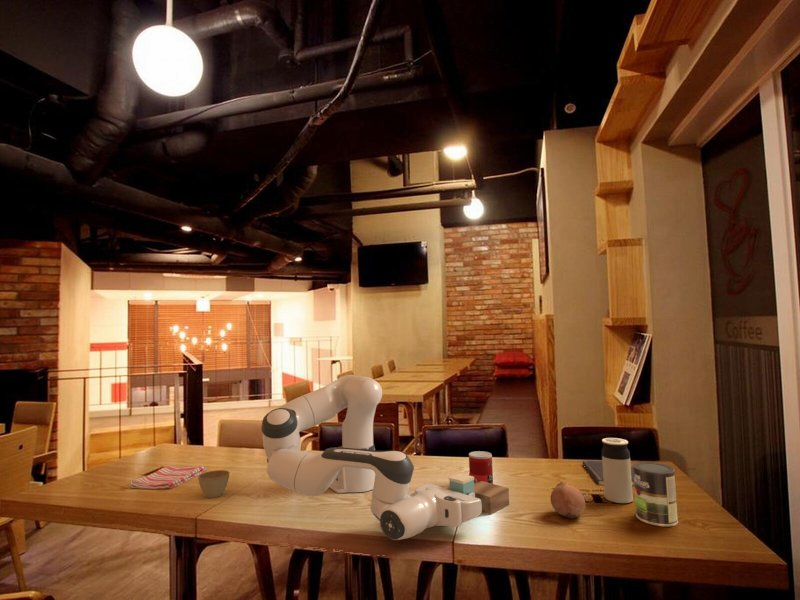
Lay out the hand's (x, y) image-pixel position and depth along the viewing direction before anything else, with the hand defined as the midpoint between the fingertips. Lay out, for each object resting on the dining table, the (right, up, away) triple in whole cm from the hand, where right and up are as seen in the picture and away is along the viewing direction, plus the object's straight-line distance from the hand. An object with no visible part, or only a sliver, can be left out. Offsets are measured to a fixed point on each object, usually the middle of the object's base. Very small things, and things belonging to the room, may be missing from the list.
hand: (464, 492), depth 129 cm
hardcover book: (+59, -8, +32) cm, 68 cm away
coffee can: (+53, -5, -6) cm, 54 cm away
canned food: (+10, -9, +24) cm, 27 cm away
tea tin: (0, -6, -1) cm, 6 cm away
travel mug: (+50, -6, +9) cm, 51 cm away
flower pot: (-83, -11, +23) cm, 87 cm away
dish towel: (-108, -14, +43) cm, 117 cm away
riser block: (+8, -7, +7) cm, 13 cm away
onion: (+30, -6, -2) cm, 31 cm away
